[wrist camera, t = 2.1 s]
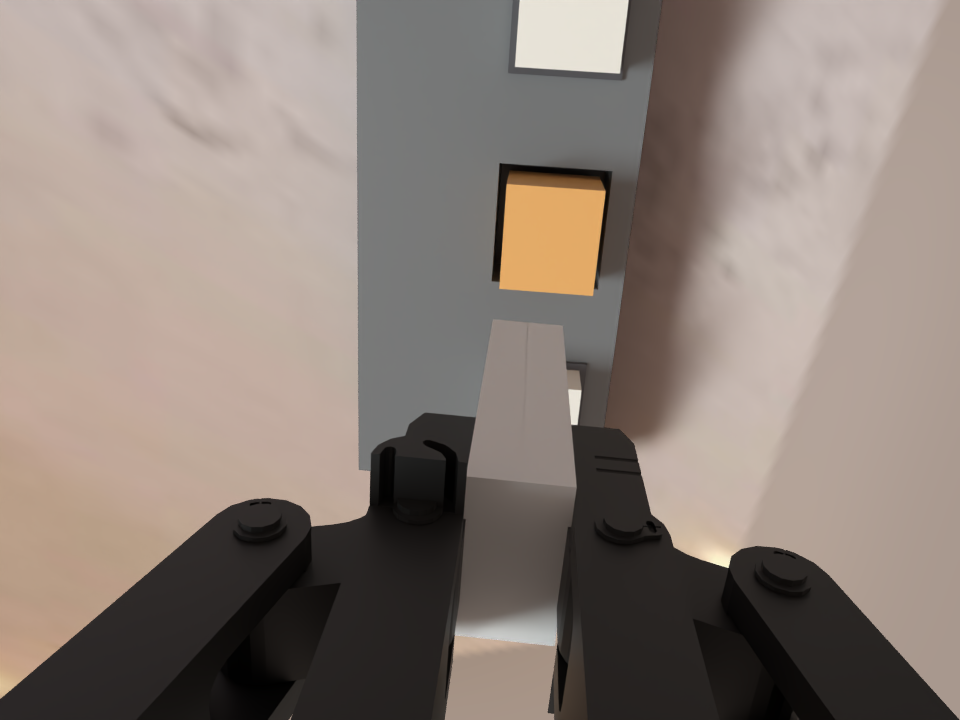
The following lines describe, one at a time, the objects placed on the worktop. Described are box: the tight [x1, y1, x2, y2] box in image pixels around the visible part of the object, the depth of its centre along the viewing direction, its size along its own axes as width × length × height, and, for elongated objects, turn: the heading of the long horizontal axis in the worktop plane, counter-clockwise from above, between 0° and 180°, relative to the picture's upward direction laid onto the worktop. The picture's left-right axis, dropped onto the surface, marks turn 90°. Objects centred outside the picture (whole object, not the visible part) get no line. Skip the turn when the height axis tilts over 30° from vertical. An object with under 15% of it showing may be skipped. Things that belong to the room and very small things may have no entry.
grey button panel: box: [357, 0, 662, 471], centre depth 32 cm, size 24×11×6 cm, turn 177°
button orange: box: [499, 170, 606, 296], centre depth 30 cm, size 4×4×3 cm
